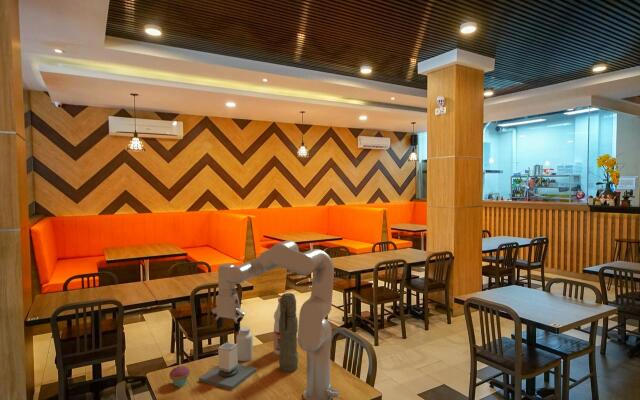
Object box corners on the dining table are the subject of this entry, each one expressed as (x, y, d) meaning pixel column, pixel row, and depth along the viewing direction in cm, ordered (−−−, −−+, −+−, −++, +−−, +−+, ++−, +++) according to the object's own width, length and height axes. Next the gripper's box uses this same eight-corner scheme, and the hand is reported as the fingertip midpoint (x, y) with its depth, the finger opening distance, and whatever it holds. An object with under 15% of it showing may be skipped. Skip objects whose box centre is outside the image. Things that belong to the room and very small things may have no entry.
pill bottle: (249, 362, 189) (248, 332, 189) (233, 361, 191) (233, 331, 190) (255, 355, 197) (254, 326, 197) (240, 354, 199) (239, 325, 198)
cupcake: (169, 380, 172) (169, 354, 172) (190, 377, 175) (189, 351, 175) (169, 390, 164) (169, 362, 164) (190, 386, 167) (190, 359, 167)
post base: (256, 371, 181) (256, 344, 180) (232, 390, 164) (231, 361, 164) (225, 363, 188) (224, 338, 187) (198, 381, 172) (198, 353, 171)
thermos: (275, 373, 179) (275, 297, 177) (282, 361, 190) (282, 290, 189) (294, 374, 177) (294, 298, 176) (300, 363, 189) (300, 291, 187)
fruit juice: (286, 346, 208) (285, 294, 206) (295, 352, 200) (295, 299, 199) (270, 351, 202) (270, 298, 201) (280, 357, 194) (279, 302, 193)
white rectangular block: (237, 366, 177) (237, 344, 177) (229, 371, 172) (229, 349, 171) (227, 363, 180) (226, 342, 180) (218, 369, 174) (218, 347, 174)
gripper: (248, 291, 174) (249, 329, 175) (217, 288, 181) (218, 324, 182) (238, 296, 167) (239, 335, 168) (206, 292, 175) (207, 329, 175)
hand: (228, 329), depth 175 cm, fingers open, 9 cm apart
